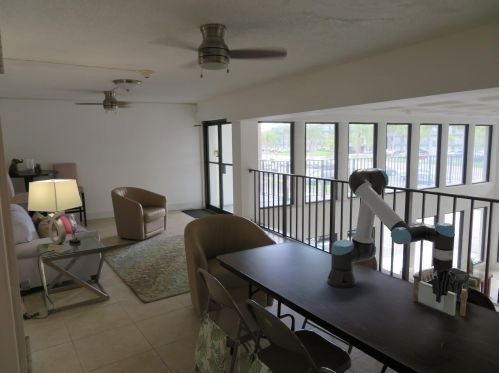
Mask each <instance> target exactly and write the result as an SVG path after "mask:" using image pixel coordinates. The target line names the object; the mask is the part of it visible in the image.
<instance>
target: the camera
mask: <svg viewBox="0 0 499 373" xmlns="http://www.w3.org/2000/svg"><path fill="white" fill-rule="evenodd" d="M450 271H452V272H453V275H452V277H451V281H450V286H449V290H448V291H450V292H453V293H455V294H457V296H456V303H461V292H462V289H466V290H467V299H468V297H469V293H470V292H471V290H470V288H469V283H470V282H469V279H470V274H469V273H468V272H466V271H464V270H461V269H459V268H455V267H452V268H450Z"/></svg>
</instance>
